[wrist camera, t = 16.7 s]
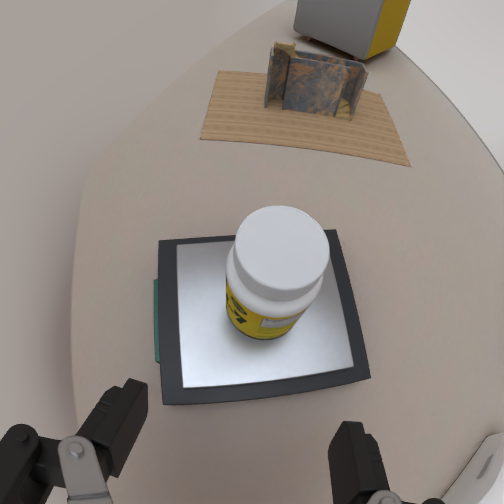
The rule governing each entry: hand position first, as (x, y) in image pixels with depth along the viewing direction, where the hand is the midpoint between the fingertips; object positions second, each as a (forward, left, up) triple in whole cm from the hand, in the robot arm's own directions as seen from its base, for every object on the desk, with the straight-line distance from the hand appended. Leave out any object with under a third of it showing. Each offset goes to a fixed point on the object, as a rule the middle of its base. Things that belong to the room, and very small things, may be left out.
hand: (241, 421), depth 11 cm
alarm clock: (+27, +59, -10) cm, 66 cm away
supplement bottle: (+2, +7, -7) cm, 10 cm away
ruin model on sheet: (+12, +33, -10) cm, 37 cm away
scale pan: (+2, +7, -7) cm, 10 cm away
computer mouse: (+19, -14, -10) cm, 26 cm away
